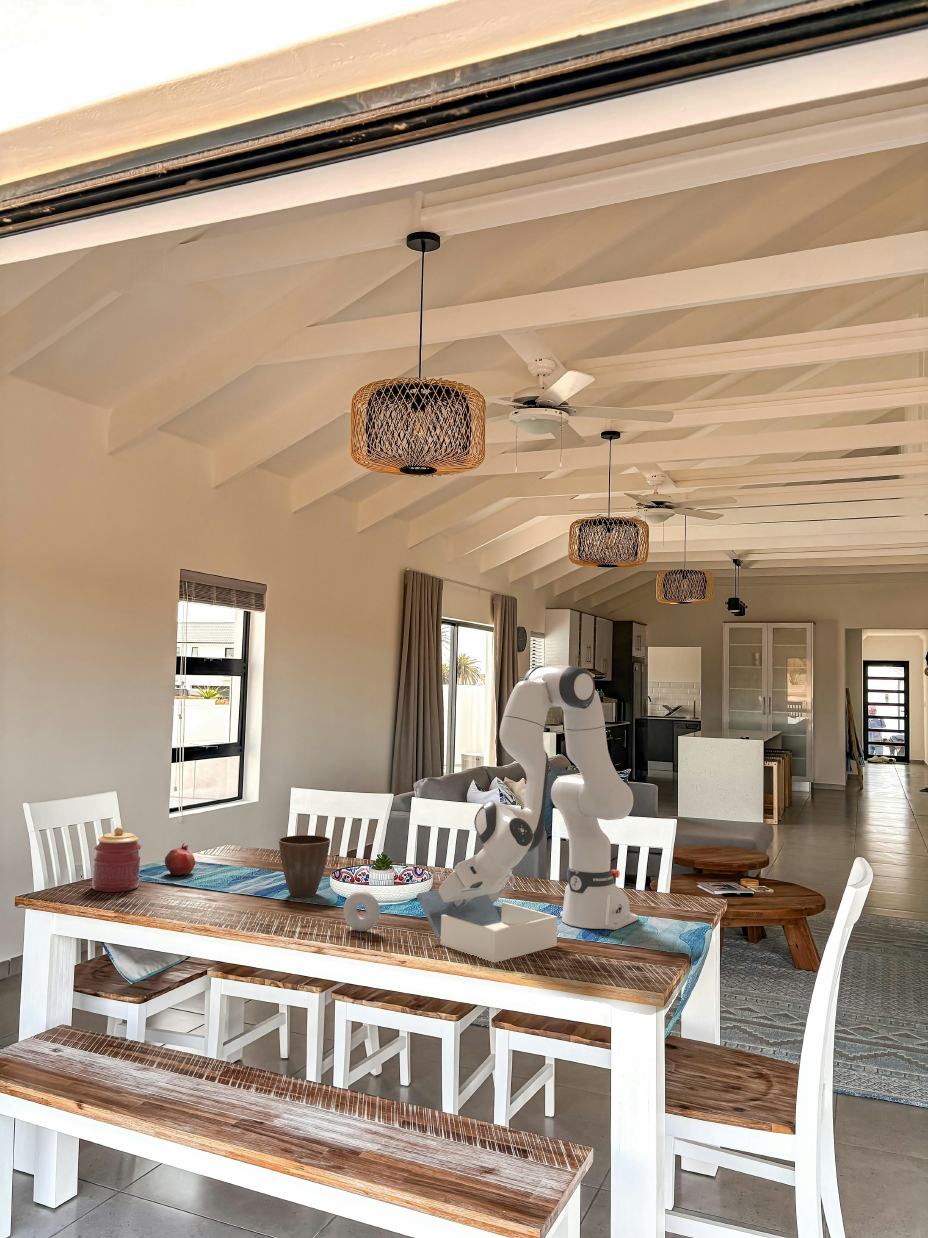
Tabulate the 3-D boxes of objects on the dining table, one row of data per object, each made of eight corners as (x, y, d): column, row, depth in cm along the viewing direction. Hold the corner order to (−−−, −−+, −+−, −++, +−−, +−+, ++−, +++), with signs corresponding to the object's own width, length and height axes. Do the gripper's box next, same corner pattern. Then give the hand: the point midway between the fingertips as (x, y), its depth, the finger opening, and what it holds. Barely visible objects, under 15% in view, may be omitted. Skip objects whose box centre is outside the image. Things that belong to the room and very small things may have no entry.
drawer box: (556, 946, 217) (557, 916, 217) (494, 963, 201) (495, 931, 202) (503, 929, 230) (503, 902, 230) (440, 944, 214) (441, 915, 215)
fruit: (157, 876, 278) (159, 844, 279) (176, 870, 287) (177, 839, 288) (183, 879, 276) (184, 846, 276) (200, 873, 285) (202, 841, 285)
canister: (128, 893, 255) (132, 831, 256) (83, 892, 255) (87, 829, 256) (145, 884, 267) (149, 824, 269) (103, 882, 268) (106, 822, 269)
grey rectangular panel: (501, 920, 230) (480, 882, 237) (439, 935, 215) (418, 893, 221) (497, 925, 231) (476, 887, 238) (434, 940, 216) (414, 898, 222)
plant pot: (300, 903, 250) (303, 845, 251) (265, 894, 259) (268, 839, 260) (338, 895, 262) (341, 839, 263) (303, 886, 271) (306, 833, 272)
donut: (381, 932, 223) (383, 892, 224) (374, 935, 220) (376, 894, 221) (347, 927, 227) (348, 887, 228) (340, 930, 224) (341, 889, 225)
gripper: (509, 855, 229) (481, 887, 235) (452, 864, 215) (423, 898, 221) (522, 876, 226) (493, 908, 232) (464, 886, 211) (435, 920, 217)
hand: (458, 903), depth 226 cm, fingers closed, pressing on grey rectangular panel
